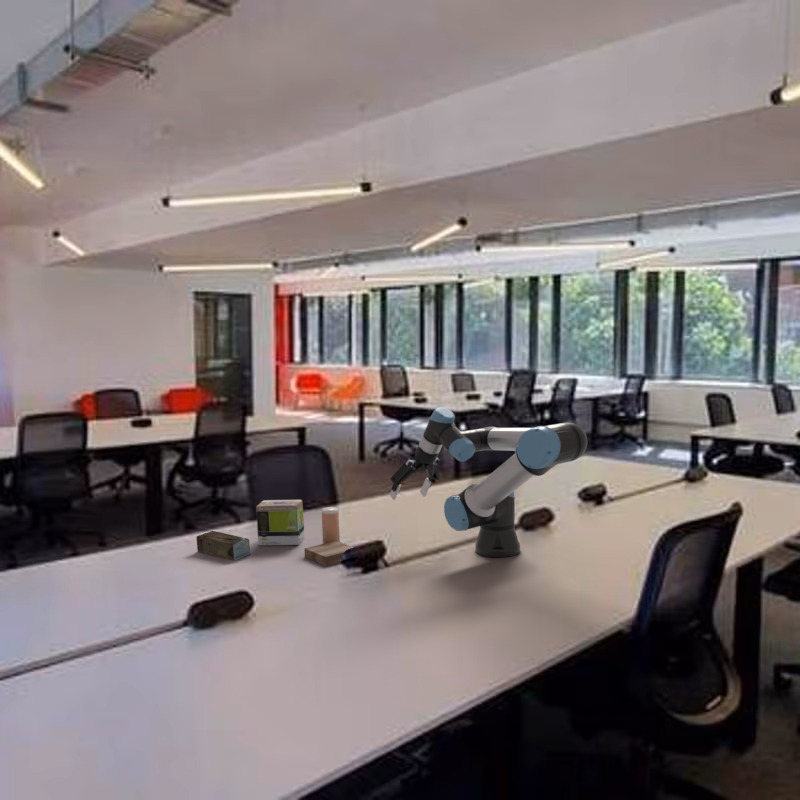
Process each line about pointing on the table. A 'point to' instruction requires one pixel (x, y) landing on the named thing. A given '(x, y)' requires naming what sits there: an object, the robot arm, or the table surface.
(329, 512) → the terracotta canister
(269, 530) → the tea box
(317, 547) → the wooden square slab
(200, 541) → the beverage carton
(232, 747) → the table surface
